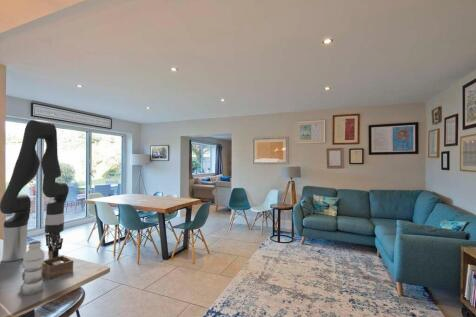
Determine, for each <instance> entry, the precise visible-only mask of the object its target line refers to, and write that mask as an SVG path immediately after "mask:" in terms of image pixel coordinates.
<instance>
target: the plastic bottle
mask: <svg viewBox="0 0 476 317" xmlns="http://www.w3.org/2000/svg"><path fill="white" fill-rule="evenodd" d="M41 244H42V242H41V241H31V242H29V243H28V246H27V249H28V250H26V254H25V255H24V258H22V260H23V261H24V267H25V269H24V270H25V277H24V281H23V283H22V285H21V286H22V287H21V292H22V294H23V295H24V296H25V295H26V296H31V295H36V294H38V293H39V292H42V290H43V289H44V278H43V275H42V267H43V260H45V252H44V250H43V249H42V248H41V246H42V245H41Z"/></svg>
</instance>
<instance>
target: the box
mask: <svg viewBox="0 0 476 317" xmlns="http://www.w3.org/2000/svg"><path fill="white" fill-rule="evenodd" d="M58 256H59V257H56V258H52V259H49V258H48V259H49V260H46V259H44V260H45V261H43V267H42V276H44V277H45V278H47V279H48V280H52V279H55V278H56V279H57V278H59V277H61V276H64V275H68V274H70V273H73V272H74V260H73V259H72V258H69V257H68V256H65V255H58ZM60 260H61V261H63V262H64V263H62V264H59V265H55V266H52V263H53V262H57V261H60Z"/></svg>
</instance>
